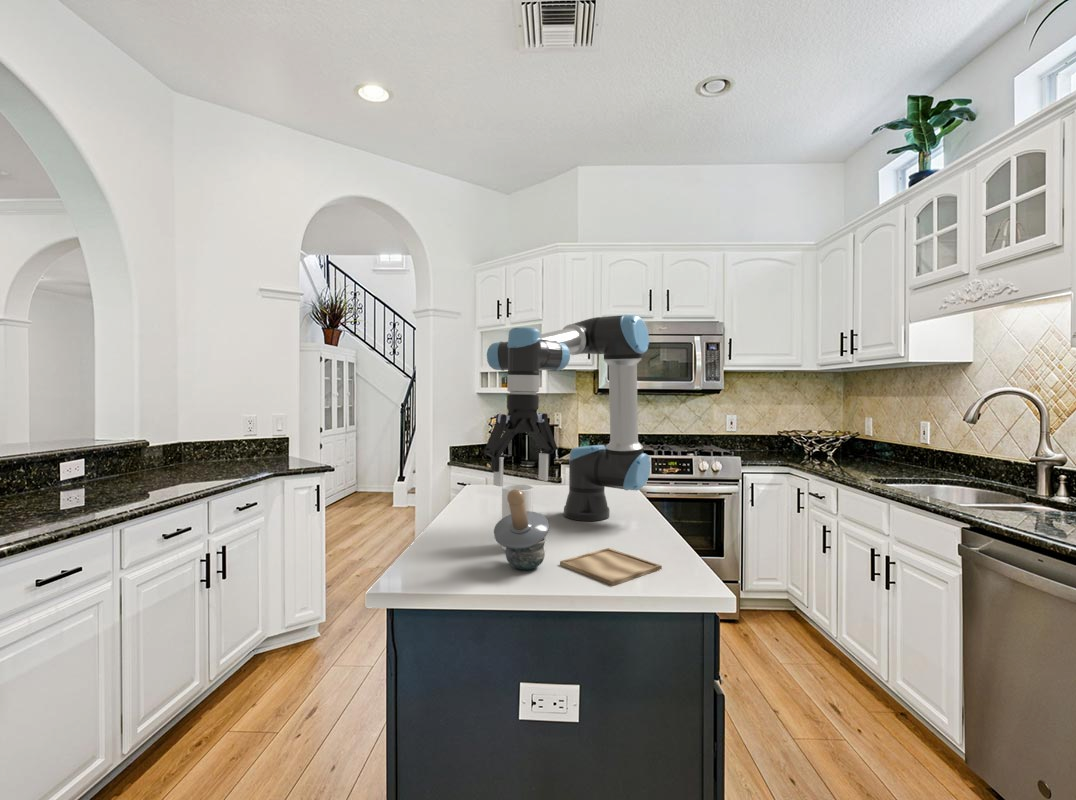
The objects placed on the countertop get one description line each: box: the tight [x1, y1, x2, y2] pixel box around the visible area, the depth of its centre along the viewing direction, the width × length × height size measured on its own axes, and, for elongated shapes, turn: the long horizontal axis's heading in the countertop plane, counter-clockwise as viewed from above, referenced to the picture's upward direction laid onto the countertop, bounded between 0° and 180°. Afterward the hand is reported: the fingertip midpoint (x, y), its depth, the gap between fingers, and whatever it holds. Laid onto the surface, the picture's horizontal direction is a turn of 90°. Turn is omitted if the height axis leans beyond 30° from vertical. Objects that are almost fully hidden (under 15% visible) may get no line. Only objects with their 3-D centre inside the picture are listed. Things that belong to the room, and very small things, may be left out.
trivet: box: [559, 547, 663, 587], centre depth 129 cm, size 17×17×1 cm
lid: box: [493, 489, 550, 549], centre depth 125 cm, size 13×13×11 cm
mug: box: [505, 537, 547, 570], centre depth 129 cm, size 10×12×10 cm
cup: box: [501, 484, 534, 551], centre depth 143 cm, size 8×8×16 cm
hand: (521, 482), depth 128 cm, fingers open, 13 cm apart
